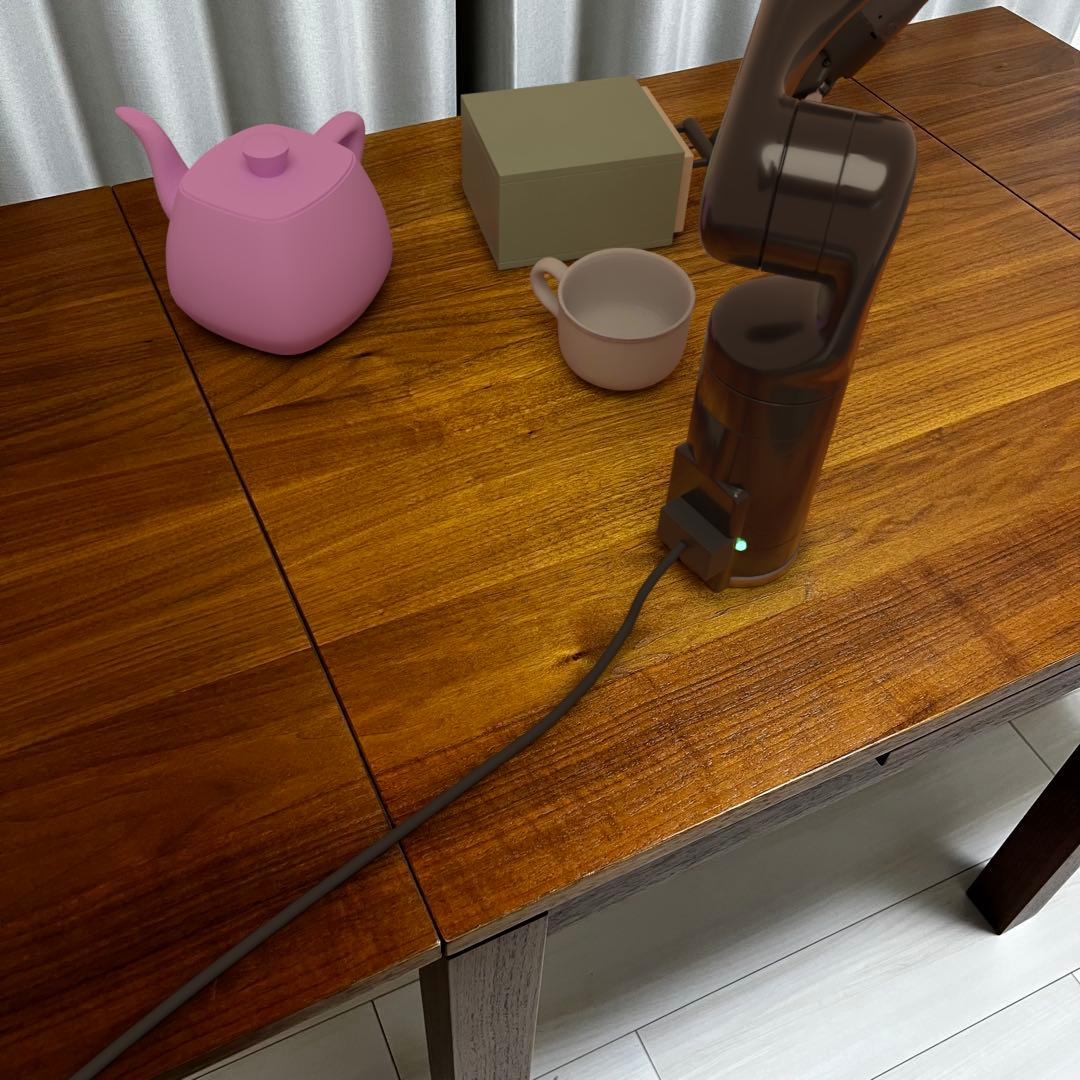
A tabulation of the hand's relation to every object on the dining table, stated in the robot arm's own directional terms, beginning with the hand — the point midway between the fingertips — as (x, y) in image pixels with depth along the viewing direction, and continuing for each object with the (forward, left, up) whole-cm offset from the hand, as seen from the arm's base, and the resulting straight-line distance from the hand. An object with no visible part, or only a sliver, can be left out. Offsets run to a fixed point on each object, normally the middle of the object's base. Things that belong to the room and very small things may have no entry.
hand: (714, 152), depth 112 cm
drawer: (-10, +4, -4) cm, 11 cm away
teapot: (-41, +9, -5) cm, 43 cm away
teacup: (-23, -13, -5) cm, 27 cm away
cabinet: (-13, +5, -5) cm, 15 cm away
